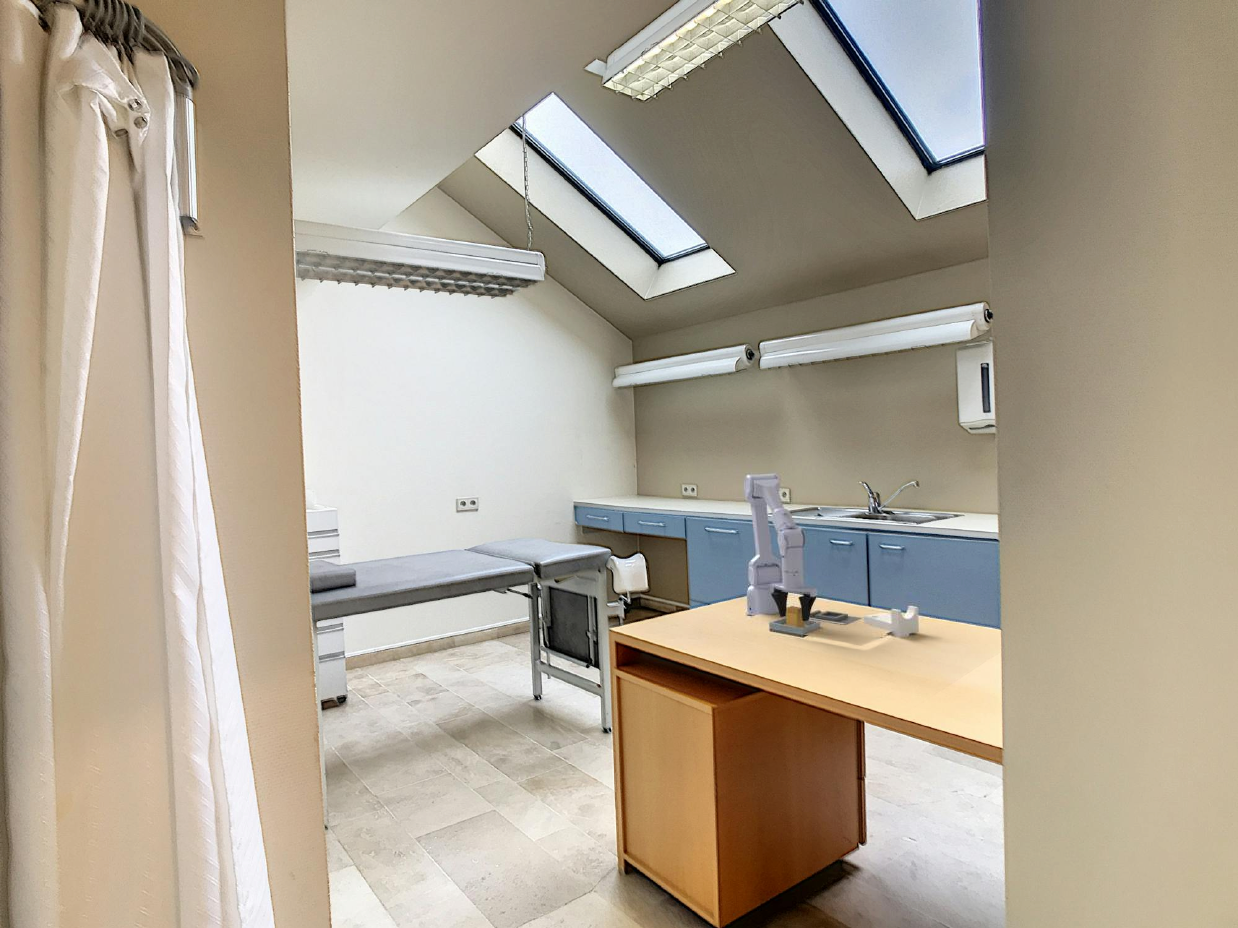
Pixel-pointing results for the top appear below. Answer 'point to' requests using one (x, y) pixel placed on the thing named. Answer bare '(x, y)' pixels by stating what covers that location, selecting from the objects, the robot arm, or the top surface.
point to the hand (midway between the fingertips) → (794, 618)
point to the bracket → (896, 621)
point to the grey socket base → (832, 617)
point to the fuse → (794, 617)
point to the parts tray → (792, 627)
